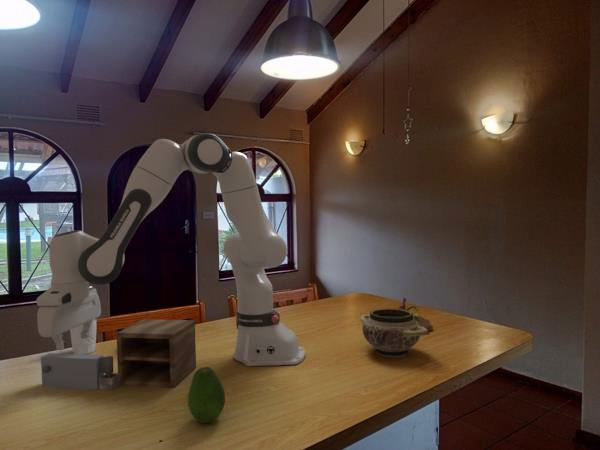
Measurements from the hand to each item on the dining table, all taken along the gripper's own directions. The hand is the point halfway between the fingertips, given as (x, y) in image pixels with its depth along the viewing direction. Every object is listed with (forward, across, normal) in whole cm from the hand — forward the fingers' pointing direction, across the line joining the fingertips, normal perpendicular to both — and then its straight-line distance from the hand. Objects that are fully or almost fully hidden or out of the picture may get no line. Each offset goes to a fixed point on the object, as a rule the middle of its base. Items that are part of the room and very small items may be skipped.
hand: (73, 343), depth 115 cm
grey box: (+11, +1, +1) cm, 11 cm away
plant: (+14, -64, +91) cm, 112 cm away
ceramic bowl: (+13, -34, +84) cm, 92 cm away
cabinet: (+11, -6, +18) cm, 22 cm away
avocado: (+12, +15, +43) cm, 47 cm away
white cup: (+12, -25, -16) cm, 32 cm away
